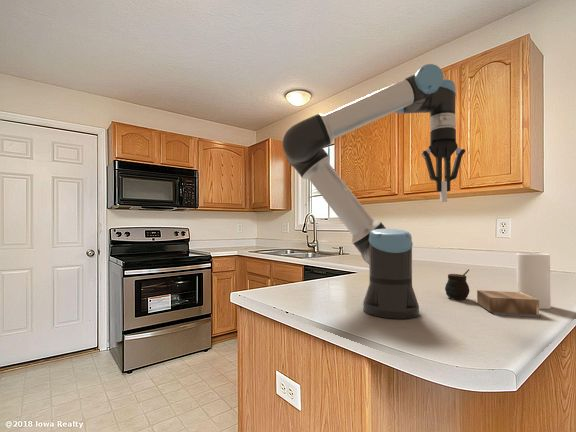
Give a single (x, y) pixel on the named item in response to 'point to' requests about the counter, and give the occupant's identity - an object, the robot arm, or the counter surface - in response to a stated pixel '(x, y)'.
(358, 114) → the robot arm
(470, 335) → the counter surface
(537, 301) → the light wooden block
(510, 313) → the mat
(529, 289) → the cup
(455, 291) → the mate gourd
